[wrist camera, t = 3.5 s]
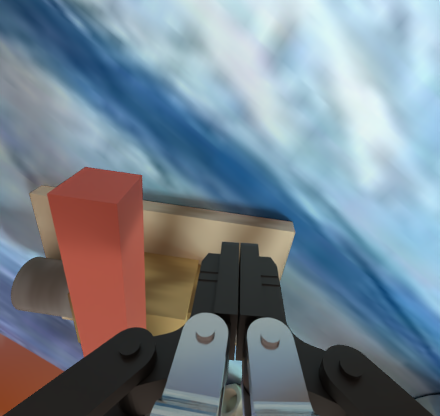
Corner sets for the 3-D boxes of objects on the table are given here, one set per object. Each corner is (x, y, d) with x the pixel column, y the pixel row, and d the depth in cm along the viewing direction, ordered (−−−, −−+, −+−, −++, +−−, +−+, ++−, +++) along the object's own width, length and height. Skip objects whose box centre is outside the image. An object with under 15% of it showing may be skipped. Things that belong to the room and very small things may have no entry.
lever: (153, 379, 19) (141, 421, 17) (108, 372, 19) (90, 413, 17) (151, 176, 11) (128, 205, 9) (75, 165, 11) (35, 191, 9)
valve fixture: (292, 221, 22) (317, 312, 14) (257, 335, 30) (262, 436, 22) (41, 185, 22) (-68, 254, 15) (70, 307, 30) (8, 396, 22)
